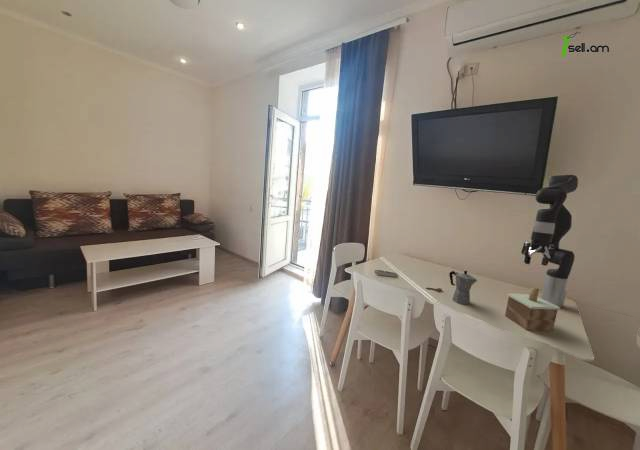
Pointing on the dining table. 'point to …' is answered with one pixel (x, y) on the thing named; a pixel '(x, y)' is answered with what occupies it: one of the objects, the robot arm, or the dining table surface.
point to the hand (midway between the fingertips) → (535, 264)
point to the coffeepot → (462, 287)
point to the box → (530, 316)
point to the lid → (533, 300)
